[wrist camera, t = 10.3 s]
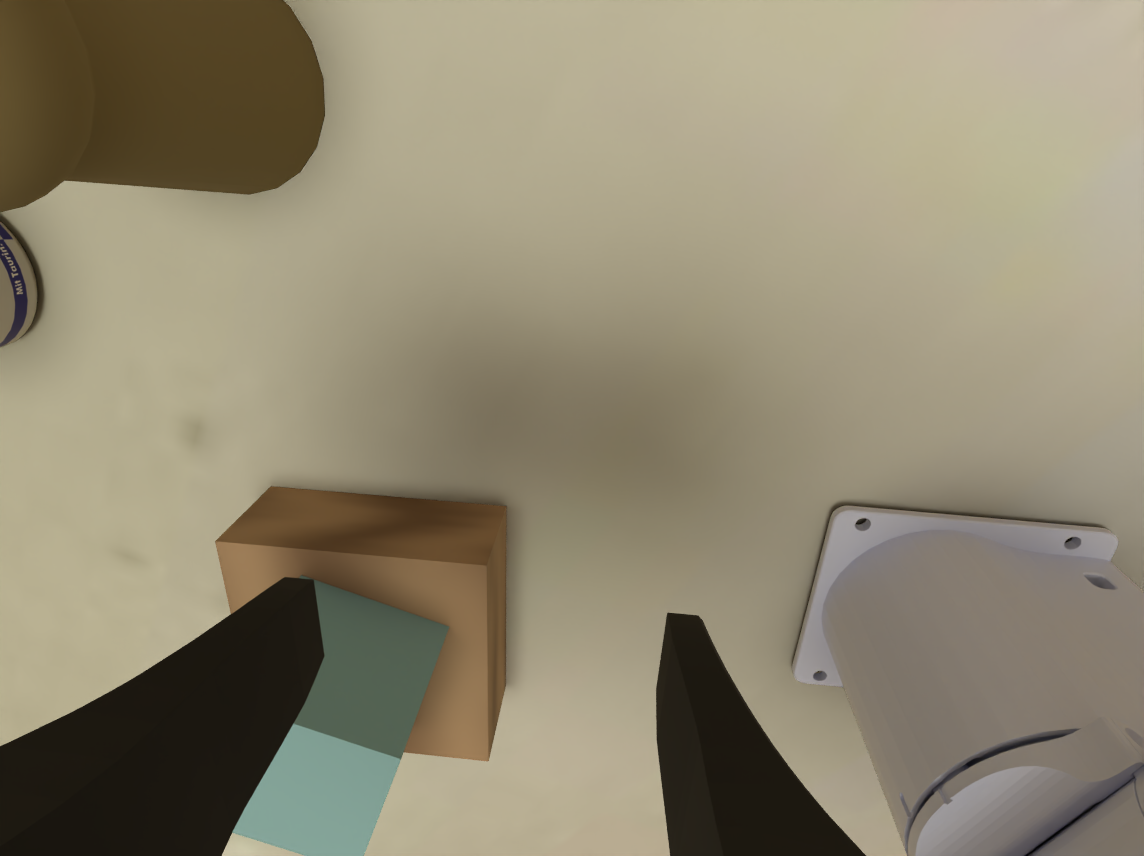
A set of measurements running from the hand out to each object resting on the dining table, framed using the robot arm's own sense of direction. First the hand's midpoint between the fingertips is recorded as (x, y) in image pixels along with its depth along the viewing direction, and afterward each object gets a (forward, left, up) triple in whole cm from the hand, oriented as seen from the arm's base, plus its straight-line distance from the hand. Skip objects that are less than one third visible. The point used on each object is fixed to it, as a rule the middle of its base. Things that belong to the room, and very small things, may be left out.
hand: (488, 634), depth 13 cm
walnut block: (+6, +8, -11) cm, 15 cm away
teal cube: (+6, +8, -7) cm, 12 cm away
